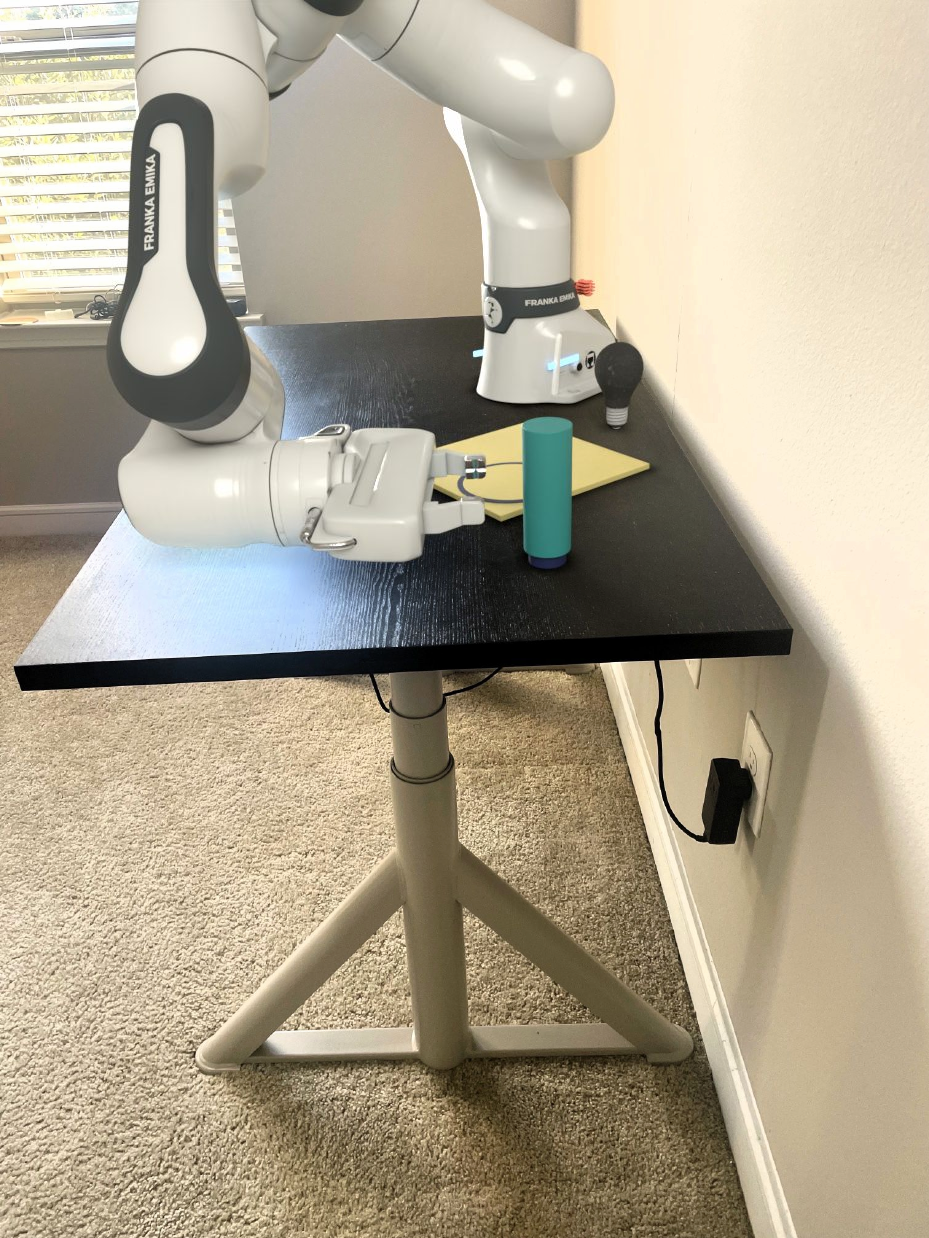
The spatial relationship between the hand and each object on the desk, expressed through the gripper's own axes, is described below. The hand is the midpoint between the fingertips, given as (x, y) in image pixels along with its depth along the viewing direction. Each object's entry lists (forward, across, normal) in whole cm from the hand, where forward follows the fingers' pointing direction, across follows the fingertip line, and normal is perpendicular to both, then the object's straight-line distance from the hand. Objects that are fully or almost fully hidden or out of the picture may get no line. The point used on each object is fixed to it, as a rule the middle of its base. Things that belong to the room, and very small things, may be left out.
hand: (485, 486), depth 71 cm
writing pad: (+3, +22, +7) cm, 24 cm away
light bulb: (+15, +34, +7) cm, 38 cm away
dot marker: (+5, 0, +7) cm, 9 cm away
